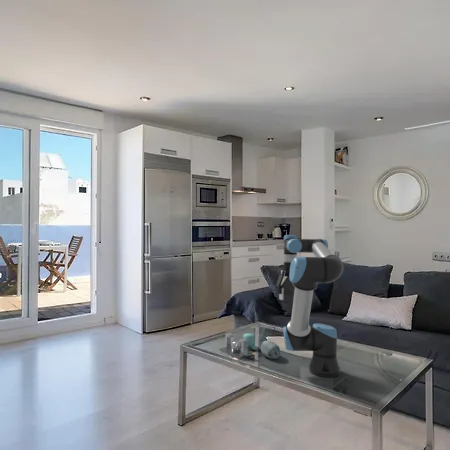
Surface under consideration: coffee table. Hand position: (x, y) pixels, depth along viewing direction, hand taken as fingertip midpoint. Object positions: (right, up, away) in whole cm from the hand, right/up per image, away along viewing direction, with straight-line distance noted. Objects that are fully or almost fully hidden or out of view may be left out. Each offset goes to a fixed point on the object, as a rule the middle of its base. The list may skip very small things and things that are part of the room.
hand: (289, 298), depth 219 cm
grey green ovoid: (-12, -32, -6) cm, 35 cm away
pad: (-23, -32, +10) cm, 40 cm away
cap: (-23, -31, +10) cm, 40 cm away
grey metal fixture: (-31, -31, 0) cm, 44 cm away
